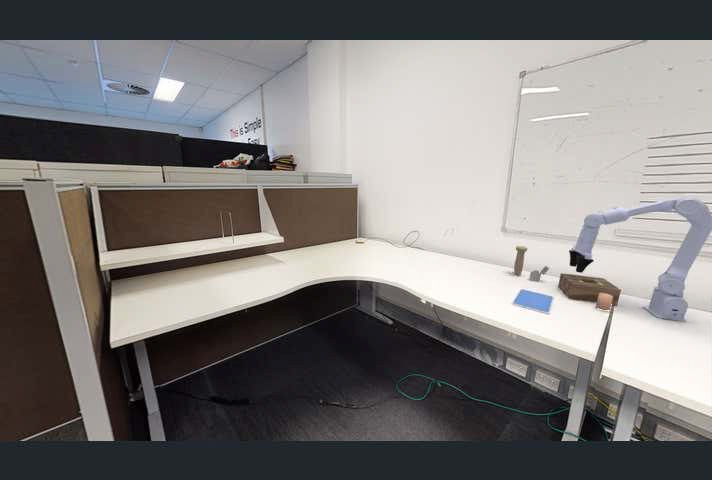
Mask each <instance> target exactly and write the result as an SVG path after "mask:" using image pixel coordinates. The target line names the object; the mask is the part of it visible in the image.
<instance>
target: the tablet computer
mask: <svg viewBox="0 0 712 480" xmlns="http://www.w3.org/2000/svg"><path fill="white" fill-rule="evenodd" d="M554 300H555V298H554V296H552V295H549V294H544V293H540V292H537V291H536V292H535V291H531V290H526V289H519V291H518V293H516V296H515V298H514V299H513V300H512V302H511V304H512V305H513V306H516V307H519V308H521V309H522V308H524V309H527V310H531V311H532V312H533V311H534V312H537V313H541V314H545V315H550V314H551V310H552V307H553V303H554Z"/></svg>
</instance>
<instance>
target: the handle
mask: <svg viewBox="0 0 712 480" xmlns="http://www.w3.org/2000/svg"><path fill="white" fill-rule="evenodd" d="M515 250H516V251H517V253H516V255H515V256H516V257H515V261H514V267H513V271H514V272H513V275H515V276H521V275H522V272H523V267H524V264H525V263H524V261H525V254H526V253H525V252H527V251H528V247H526V246H524V245H523V246H522V245H516V246H515Z"/></svg>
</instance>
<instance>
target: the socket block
mask: <svg viewBox="0 0 712 480" xmlns="http://www.w3.org/2000/svg"><path fill="white" fill-rule="evenodd" d="M557 288H558V289H559V290H560V291H561V292H562V293H563V294H564V295H565V296H566V298H568V299H569V300H575V301H580V300H582V302H587V301H590V302H589V303H594V302H597V300H598V296H599V293H606V294H609V295H612V296H613V299H612V303H611V304H612V305H611V306H615V307H617V306H618V304H619V301H620V300H619V299H620V296H621V292H622V289H620V288H619V287H617V286H616V285H614V284H612V283H611V282H610V281H608V280H607V279H605V278H603V277H598V276H597V277H594V276H587V275H578V274H570V273H561V272H560V275H559V281H558V285H557Z"/></svg>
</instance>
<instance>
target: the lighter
mask: <svg viewBox="0 0 712 480" xmlns="http://www.w3.org/2000/svg"><path fill="white" fill-rule="evenodd" d="M549 269H550V267H549V266H547V265H544V267H543V268H542V269H541V270H540V271H539V270H535V269H534V270H533V271H530V275H529V281H531V282H541V278H542V275H543V276H544V275H546V273H547V272H548V271H549Z"/></svg>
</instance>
